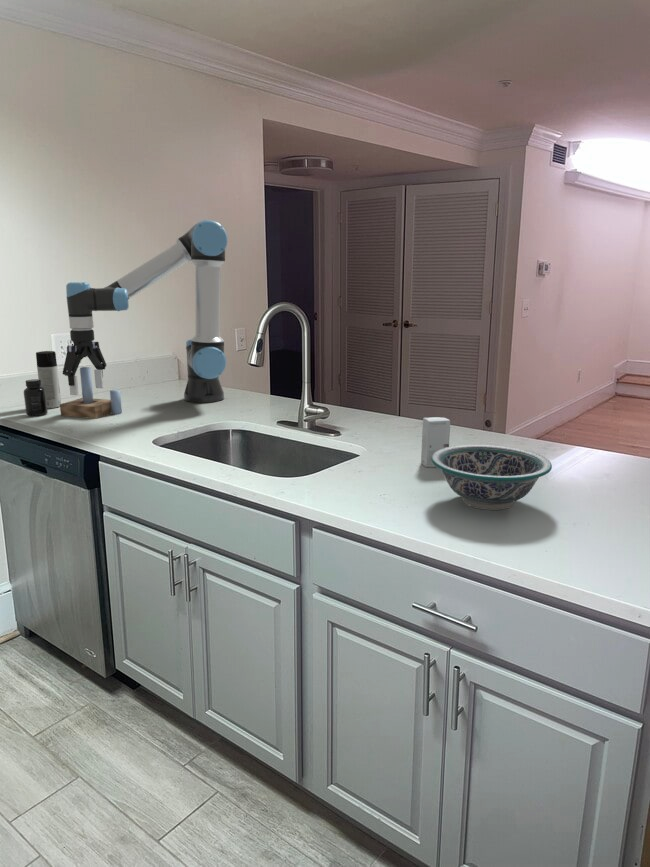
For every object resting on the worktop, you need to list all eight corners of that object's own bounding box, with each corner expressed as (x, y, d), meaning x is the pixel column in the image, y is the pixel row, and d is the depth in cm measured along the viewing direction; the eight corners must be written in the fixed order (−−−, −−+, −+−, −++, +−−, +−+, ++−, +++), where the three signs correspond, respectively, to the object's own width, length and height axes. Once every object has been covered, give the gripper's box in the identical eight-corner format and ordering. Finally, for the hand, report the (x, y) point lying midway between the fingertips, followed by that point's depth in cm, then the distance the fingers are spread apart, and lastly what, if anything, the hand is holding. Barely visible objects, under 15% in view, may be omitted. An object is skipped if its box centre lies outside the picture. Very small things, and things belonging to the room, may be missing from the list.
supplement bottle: (51, 412, 227) (48, 378, 224) (41, 417, 221) (37, 382, 218) (32, 412, 228) (29, 378, 225) (22, 416, 222) (18, 381, 219)
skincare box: (426, 467, 166) (428, 421, 163) (420, 462, 170) (421, 417, 167) (449, 466, 167) (451, 420, 164) (442, 461, 171) (444, 416, 168)
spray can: (65, 406, 238) (59, 351, 233) (48, 409, 232) (43, 353, 227) (53, 404, 241) (48, 350, 236) (37, 407, 236) (31, 352, 231)
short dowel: (123, 412, 228) (122, 390, 226) (118, 414, 224) (116, 391, 222) (115, 412, 229) (113, 389, 227) (109, 414, 225) (107, 391, 223)
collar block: (117, 411, 230) (116, 400, 229) (95, 418, 219) (94, 406, 218) (83, 408, 234) (82, 397, 233) (60, 415, 223) (59, 404, 222)
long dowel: (96, 412, 227) (92, 367, 223) (90, 414, 224) (86, 368, 220) (88, 412, 228) (84, 366, 224) (81, 414, 225) (77, 368, 221)
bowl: (495, 533, 125) (498, 486, 123) (405, 497, 144) (407, 455, 142) (572, 506, 139) (576, 463, 137) (481, 476, 159) (484, 438, 156)
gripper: (95, 325, 232) (100, 384, 237) (46, 332, 209) (53, 397, 214) (113, 326, 230) (118, 385, 235) (66, 333, 206) (72, 398, 212)
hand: (87, 391), depth 224 cm, fingers open, 13 cm apart
